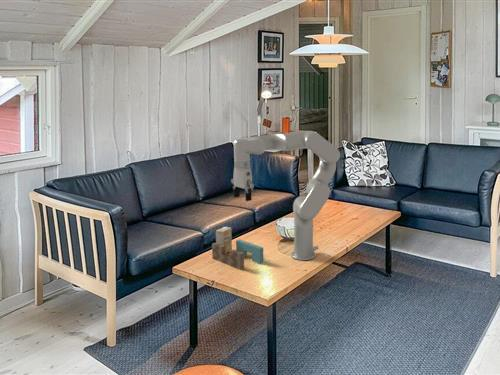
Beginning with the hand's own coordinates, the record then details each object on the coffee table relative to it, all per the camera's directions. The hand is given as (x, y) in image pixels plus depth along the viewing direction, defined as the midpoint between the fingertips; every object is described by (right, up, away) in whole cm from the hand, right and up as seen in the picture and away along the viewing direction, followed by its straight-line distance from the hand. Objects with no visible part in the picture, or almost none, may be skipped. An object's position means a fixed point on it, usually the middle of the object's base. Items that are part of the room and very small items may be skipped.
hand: (242, 198), depth 248 cm
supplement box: (-10, -29, +20) cm, 37 cm away
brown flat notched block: (-7, -32, +4) cm, 34 cm away
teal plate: (+3, -31, +10) cm, 33 cm away
